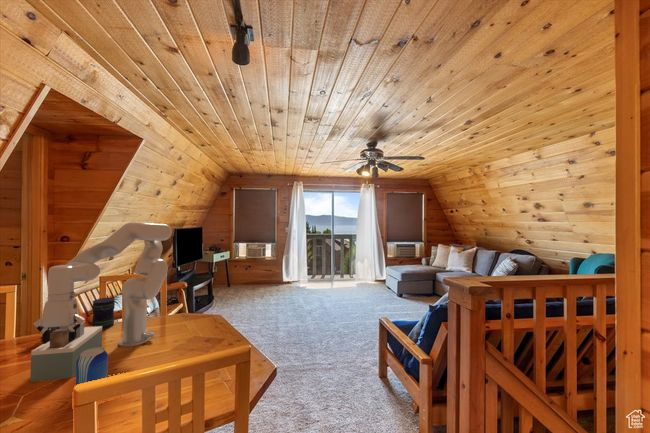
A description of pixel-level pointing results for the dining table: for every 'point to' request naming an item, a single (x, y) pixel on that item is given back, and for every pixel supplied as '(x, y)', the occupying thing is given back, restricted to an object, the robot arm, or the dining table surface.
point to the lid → (81, 337)
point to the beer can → (92, 365)
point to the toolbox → (60, 362)
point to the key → (59, 338)
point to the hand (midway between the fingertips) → (59, 341)
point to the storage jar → (103, 312)
